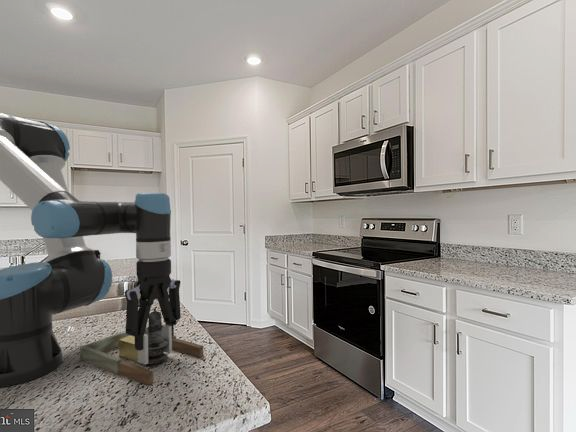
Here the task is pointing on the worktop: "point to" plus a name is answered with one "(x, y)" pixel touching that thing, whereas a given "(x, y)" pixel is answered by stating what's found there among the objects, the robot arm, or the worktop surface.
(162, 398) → the worktop surface
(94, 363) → the frame
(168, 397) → the worktop surface
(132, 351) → the tan wooden cube
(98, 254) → the coffee cup
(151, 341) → the salt shaker
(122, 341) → the chip
